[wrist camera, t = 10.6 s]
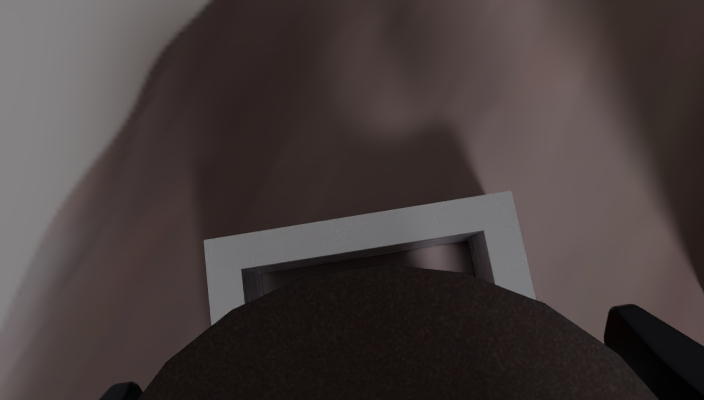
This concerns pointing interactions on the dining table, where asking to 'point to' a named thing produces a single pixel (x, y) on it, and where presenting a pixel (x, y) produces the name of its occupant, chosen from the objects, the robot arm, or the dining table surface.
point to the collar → (371, 246)
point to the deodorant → (395, 345)
